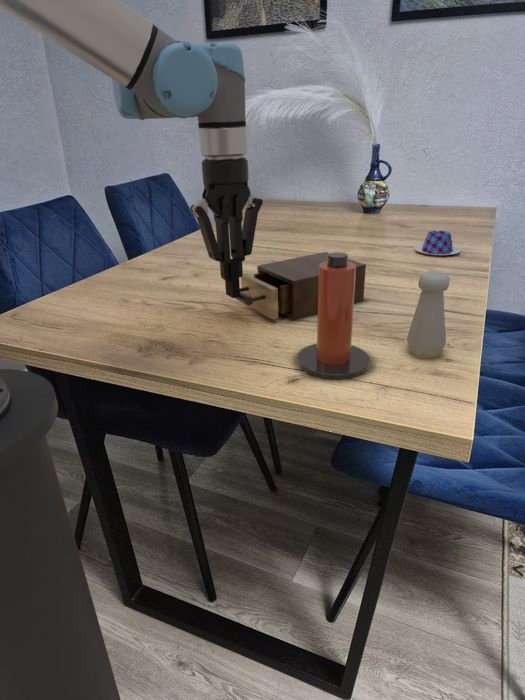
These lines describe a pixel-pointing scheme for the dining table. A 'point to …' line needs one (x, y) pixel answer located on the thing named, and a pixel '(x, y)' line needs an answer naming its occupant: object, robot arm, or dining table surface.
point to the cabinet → (308, 281)
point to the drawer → (265, 294)
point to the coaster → (348, 370)
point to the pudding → (438, 244)
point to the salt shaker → (429, 316)
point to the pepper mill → (335, 309)
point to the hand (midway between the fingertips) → (233, 295)
